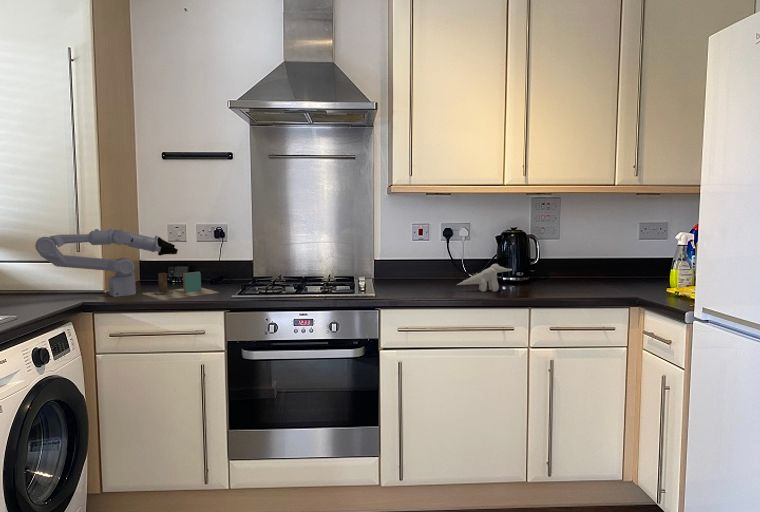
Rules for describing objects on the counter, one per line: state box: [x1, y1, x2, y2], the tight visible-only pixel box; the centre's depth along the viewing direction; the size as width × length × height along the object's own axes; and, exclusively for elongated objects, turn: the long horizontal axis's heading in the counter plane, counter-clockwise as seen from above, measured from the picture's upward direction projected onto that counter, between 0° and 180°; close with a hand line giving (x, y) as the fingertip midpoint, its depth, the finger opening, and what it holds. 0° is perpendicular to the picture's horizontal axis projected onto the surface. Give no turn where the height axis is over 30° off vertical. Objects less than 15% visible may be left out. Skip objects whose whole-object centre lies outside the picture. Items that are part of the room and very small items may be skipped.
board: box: [141, 287, 221, 301], centre depth 217 cm, size 24×22×1 cm
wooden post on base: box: [153, 272, 173, 296], centre depth 215 cm, size 6×5×8 cm
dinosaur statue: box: [456, 263, 513, 293], centre depth 218 cm, size 7×24×11 cm, turn 94°
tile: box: [182, 271, 202, 293], centre depth 220 cm, size 7×2×8 cm, turn 133°
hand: (175, 249), depth 225 cm, fingers open, 7 cm apart
